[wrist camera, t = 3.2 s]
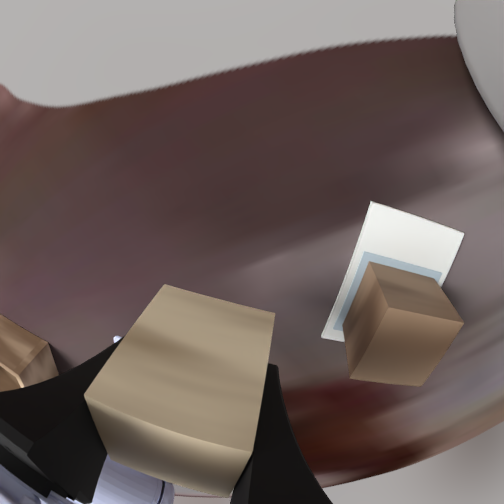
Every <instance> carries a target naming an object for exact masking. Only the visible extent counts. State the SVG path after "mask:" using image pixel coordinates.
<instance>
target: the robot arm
mask: <svg viewBox="0 0 504 504" xmlns="http://www.w3.org/2000/svg"><path fill="white" fill-rule="evenodd" d="M125 336H126V335H125ZM125 336H124V337H125ZM124 337H120V336H115V337H114V344H112V345H111V346H109V347H108V348H106V349H105V350H103V351H102V352H100V353H99V354H97V355H96V356H94V357H92V358H91V359H89V360H87V361H86V362H84V363H82V364H81V365H79V366H77V367H75V368H73V369H71V370H69V371H67V372H65V373H63V374H61V375H58V376H56V377H53V378H51V379H48V380H46V381H43V382H40V383H37V384H34V385H30V386H26V387H23V388H19V389H14V390H8V391H2V392H0V504H173V501H174V494H175V492H174V487H173V485H172V483H170V482H167V481H164V480H161V479H158V478H155V477H152V476H149V475H147V474H144V473H141V472H139V471H136V470H134V469H131V468H129V467H127V466H124V465H122V464H120V463H117V462H115V461H113V460H111V459H110V457H109V455H108V453H107V451H106V448H105V446H104V444H103V442H102V440H101V437H100V435H99V433H98V430H97V428H96V425H95V423H94V421H93V418H92V416H91V413H90V410H89V408H88V405H87V402H86V400H85V397H84V394H85V392H86V391H87V389H88V388H89V386H90V385H91V383H92V382H93V381H94V379H95V378H96V376H97V375H98V373H99V372H100V371H101V369H102V368H103V366H104V365H105V363H106V362H107V361H108V359H109V358H110V356H111V355H112V354H113V352H114V351H115V349H116V348H117V347H118V345H119V344H120V343H121V341H122V340H123V338H124ZM230 504H333V503H332V502H331V501H330V499H329V498H328V497H327V495H326V494H325V492H324V491H323V489H322V488H321V486H320V485H319V483H318V481H317V480H316V478H315V476H314V475H313V473H312V471H311V470H310V468H309V466H308V464H307V462H306V460H305V458H304V456H303V454H302V452H301V450H300V447H299V445H298V443H297V440H296V438H295V435H294V433H293V430H292V427H291V424H290V421H289V418H288V415H287V411H286V407H285V404H284V400H283V396H282V391H281V386H280V379H279V371H278V367H277V365H273V364H269V363H268V364H267V371H266V377H265V383H264V389H263V395H262V401H261V407H260V413H259V419H258V424H257V430H256V436H255V441H254V447H253V452H252V454H251V456H250V458H249V460H248V462H247V464H246V466H245V468H244V470H243V471H242V473H241V475H240V477H239V479H238V481H237V483H236V484H235V486H234V490H233V494H232V498H231V502H230Z"/></svg>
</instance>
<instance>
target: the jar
mask: <svg viewBox="0 0 504 504" xmlns="http://www.w3.org/2000/svg"><path fill="white" fill-rule="evenodd" d="M454 23H455V27H456V33H457V38H458V43H459V45H460V48H461V51H462V54H463V57H464V60H465V63H466V66H467V68H468V70H469V72H470V74H471V76H472V79H473V81H474V83H475V86H476V88H477V89H478V91H479V93H480V95H481V96H482V98H483V100H484V102H485V104H486V105H487V107H488V109H489V111H490V112H491V114H492V115H493V117H494V118H495V120H496V121H497V123H498V124H499V126H500V127H501V129H502V131H503V132H504V0H456V1H455V5H454Z"/></svg>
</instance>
